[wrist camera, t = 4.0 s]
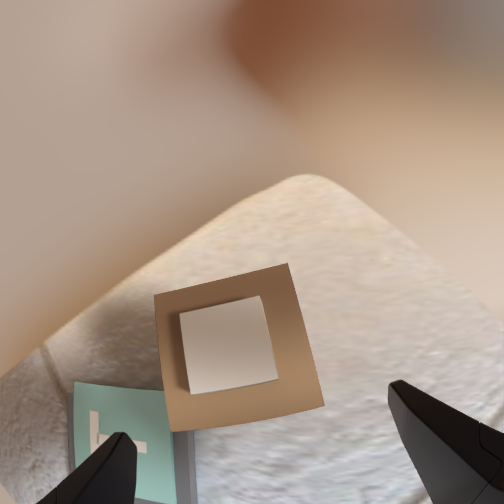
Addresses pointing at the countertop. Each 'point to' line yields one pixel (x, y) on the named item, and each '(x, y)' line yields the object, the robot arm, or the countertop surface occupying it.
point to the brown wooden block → (235, 351)
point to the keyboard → (135, 439)
